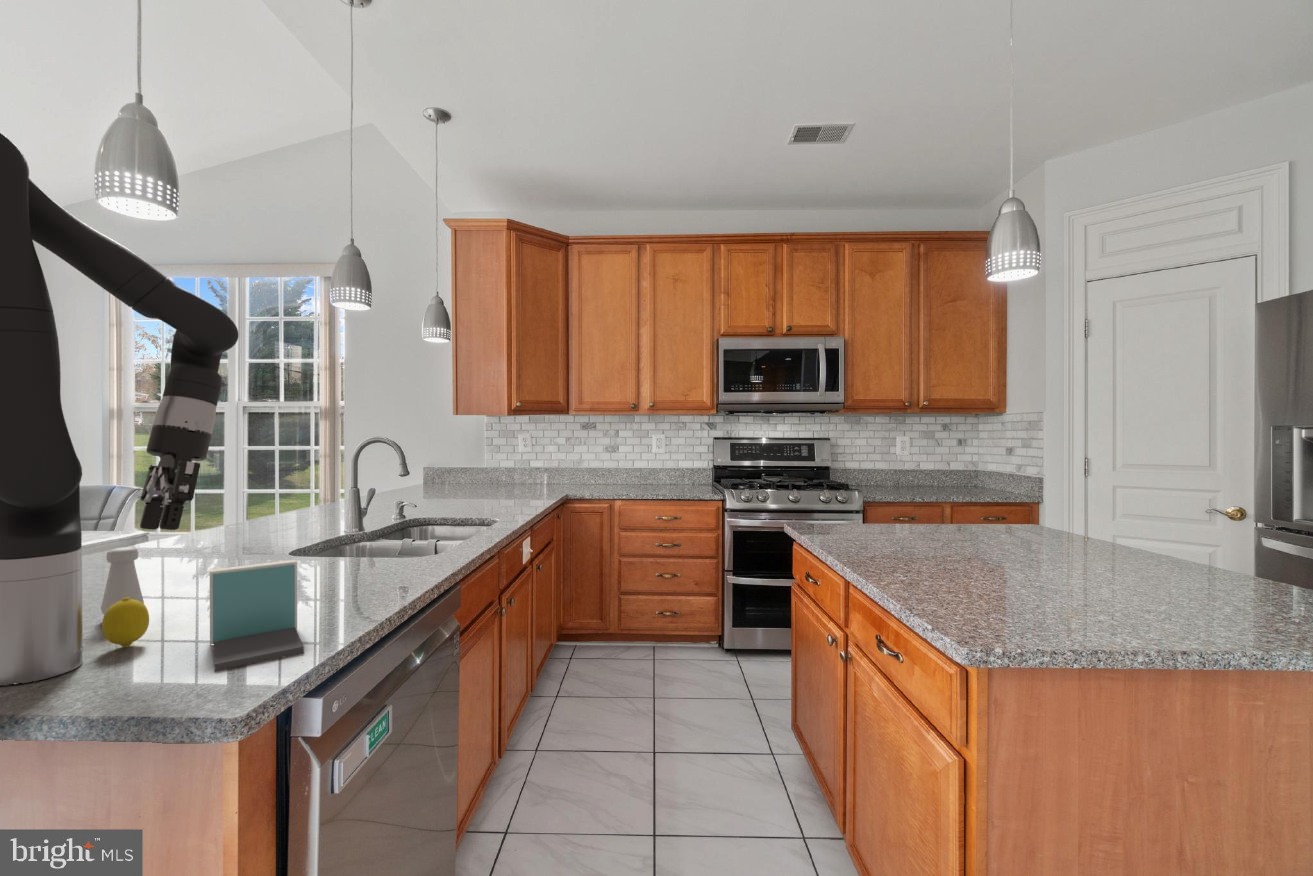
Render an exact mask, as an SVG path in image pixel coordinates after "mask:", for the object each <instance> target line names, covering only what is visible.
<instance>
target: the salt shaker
mask: <svg viewBox="0 0 1313 876" xmlns="http://www.w3.org/2000/svg"><path fill="white" fill-rule="evenodd" d="M138 558H139V550H138V548H136V547H132V546H126V547H125V546H124V547H123V546H121V547H117V548H112V549H110V550H109V551H107V552H106V556H105V559H106V561H107V563H110V566H109V571H108V574H107V580H106V584H105V588H104V594H103V597H102V600H101V601H102V602H101V605H100V609H101V613H102V614H103V616H104V615H105V613H106V611H107V610H108V609H109V608H110V607H111V606H112V605H113V604H115V603H117V602H119V601H121V600H122V599H123V598H127V597H129V598H130V599H134V600H138V601H140V602H142V603H143V604H144V605H145V601H144V596H143V593H142V590H141V586H140V581H139V577H138V574H137V568H136V564H135V561H136V560H138Z"/></svg>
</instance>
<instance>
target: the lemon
mask: <svg viewBox="0 0 1313 876" xmlns="http://www.w3.org/2000/svg"><path fill="white" fill-rule="evenodd" d="M149 614H150V613H149V609H148V607H147V606H146V605H145V603H144V604H143V603H142V602H140V601H138V600H134V599H130V598H129V597H127V598H123V599H122V600H121V601H119V602H117V603H115V604H113V605H112V606H111V607H110V608H109V609H108V610H107V611H106V613H105V615H104V614H103V619H102V623H101V631H102V634H103V637H104V639H106V640H107V641H108V642H109V643H110V644H114V645H119V646H120V647H122V648H128V647H130V646H131V645H132V644H133V643H134V642H136V641H138V640H139V639H141V638H142V637H143V636H144V635H145V633H146V632H147V630H148V628H149V625H150V615H149Z"/></svg>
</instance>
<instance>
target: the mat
mask: <svg viewBox="0 0 1313 876" xmlns="http://www.w3.org/2000/svg"><path fill="white" fill-rule="evenodd" d="M297 630H298V629H297ZM297 630H296V628H295V627H293V628H288V629H282V630H277V631H271V632H266V633H260V634H254V635H249V636H243V637H238V638H232V639H227V640H221V641H216V642H214V645H213V654H214V655H213V656H214V657H213V658H214V672H216V671H222V670H226V669H227V670H228V669H232V668H236V667H242V666H245V665H247V666H248V665H251V663H252V664H256V663H262V662H266V661H271V660H275V659H281V658H284V657H283V656H286V657H290V655H291V656H294V655H293V654H295V655H300V654H303V653H305V649H304V648H305V647H304V644H303V642H302V639H301V638H300V635H299V633H298V631H297ZM299 653H300V654H299ZM261 661H262V662H261ZM241 665H242V666H241Z"/></svg>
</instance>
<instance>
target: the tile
mask: <svg viewBox="0 0 1313 876" xmlns="http://www.w3.org/2000/svg"><path fill="white" fill-rule="evenodd" d="M293 627H295V628H296V629H297V630H298V561H297V559H289V560H280V561H272V562H264V563H256V564H255V563H254V564H247V565H239V566H238V565H237V566H231V567H223V568H222V567H221V568H214V569H213V568H212V569H211V568H210V569H209V646H210V645H211V644H214V642H216V641H221V640H227V639H232V638H238V637H243V636H249V635H254V634H260V633H266V632H271V631H277V630H282V629H288V628H293ZM211 646H212V645H211Z"/></svg>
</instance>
